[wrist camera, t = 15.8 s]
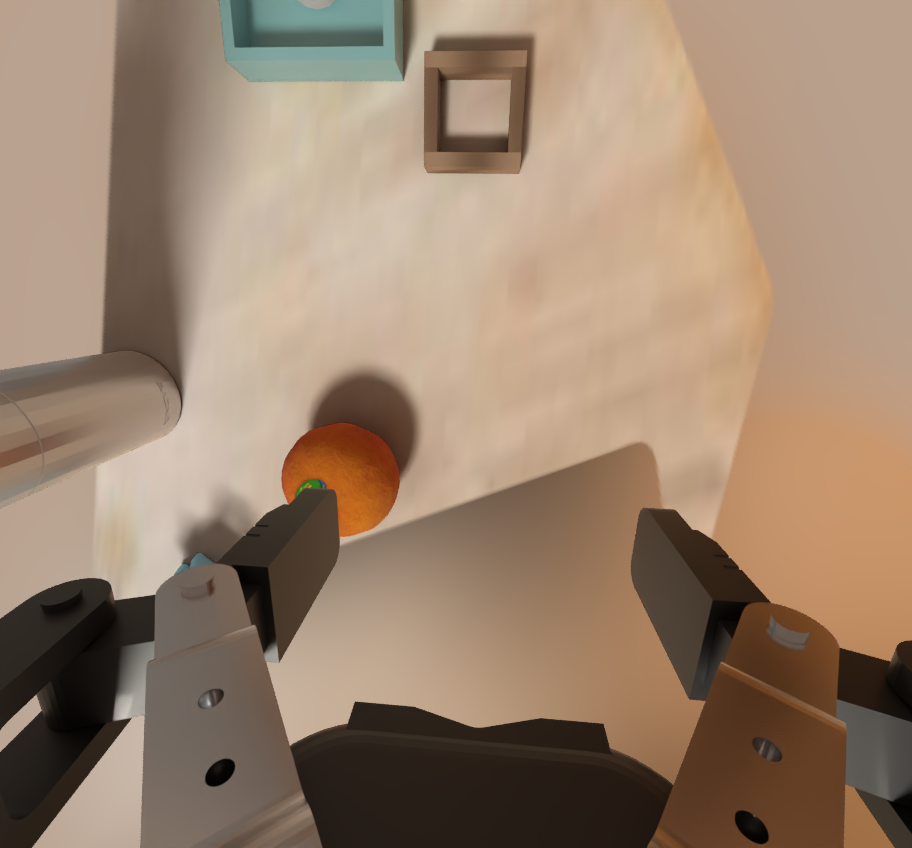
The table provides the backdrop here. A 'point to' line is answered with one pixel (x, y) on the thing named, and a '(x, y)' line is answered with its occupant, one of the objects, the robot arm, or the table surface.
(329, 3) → the rook chess piece
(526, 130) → the table surface
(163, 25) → the table surface
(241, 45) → the tray
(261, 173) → the table surface
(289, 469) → the fruit
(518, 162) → the socket collar
